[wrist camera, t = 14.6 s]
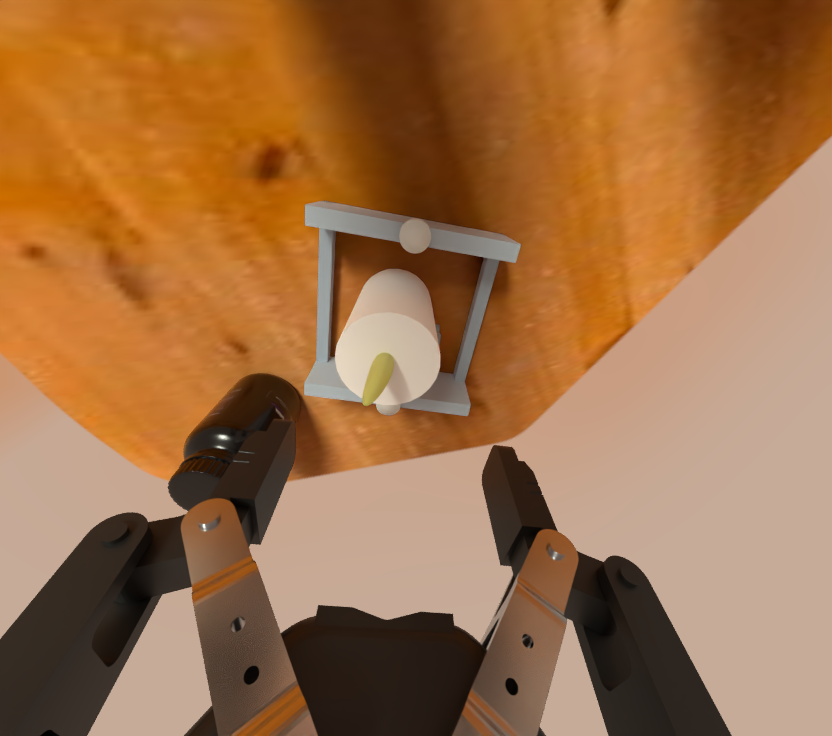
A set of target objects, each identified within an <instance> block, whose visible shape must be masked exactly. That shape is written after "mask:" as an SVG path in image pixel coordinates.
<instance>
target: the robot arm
mask: <svg viewBox="0 0 832 736" xmlns="http://www.w3.org/2000/svg"><path fill="white" fill-rule="evenodd" d="M295 454H296V433H295V422H294V421H290V420H282V419H273V421H272V422H271V424H270V426H269V428H268V429H267V431H256V432H255V433H253V434H252V435H251V436H249V437H248V438H247V439H245V441H244V443H243V444H242V446H241V447H240V449H239V452H238V453H237V454H236V455H235V457H234V459H233V462H231V464H230V465H229V467H228V468H227V470H226V472H225V473H224V475H223V476H222V478H221V480H220V481H219V483H218V484H217V486H216V488H215V489H214V491H213V492H212V494H211V496H210V497H209V498H208V500H206V501H203V502H201V503H199V504H197V505H196V506H194V507H193V508H192V509H191V510H190V511H188V513H187V514H185V515H182V516H179V517H175V518H169V519H163V520H158V521H153V522H148V521H147V519H146V518H145V517H144V516H143V515H141V514H139V513H133V512H132V513H122V514H118V515H116V516H113V517H110V518H108V519H106V520H104V521H102V522H101V523H99V524H98V525H96V526H95V527H94V528H93V529H92V530H90V532H89V533H88V534H87V535H86V536H85V537H84V538H83V540H82V541H81V542H80V543H79V545H78V546H77V547H76V548H75V549H74V551H73V552H72V553H71V554H70V555H69V557H68V558H67V559H66V560H65V561H64V563H63V564H62V565H61V566H60V567H59V569H58V570H57V571H56V572H55V573H54V575H53V576H52V577H51V579H50V580H49V581H48V582H47V583H46V584H45V586H44V587H43V588H42V589H41V591H40V592H39V593H38V594H37V595H36V597H35V598H34V599H33V600H32V601H31V603H30V604H29V605H28V606H27V607H26V609H25V610H24V611H23V612H22V613H21V615H20V616H19V617H18V618H17V620H16V621H15V622H14V623H13V624H12V626H11V627H10V628H9V629H8V630H7V632H6V633H5V634H4V635H3V636H2V638H1V639H0V736H87V735H88V733H89V731H90V729H91V727H92V725H93V724H94V722H95V720H96V718H97V716H98V714H99V712H100V710H101V709H102V706H103V705H104V703H105V701H106V699H107V697H108V695H109V693H110V692H111V690H112V688H113V686H114V684H115V682H116V680H117V678H118V677H119V675H120V673H121V671H122V669H123V667H124V665H125V663H126V662H127V660H128V658H129V656H130V654H131V652H132V650H133V648H134V646H135V645H136V643H137V641H138V639H139V637H140V635H141V633H142V631H143V629H144V627H145V626H146V624H147V622H148V620H149V618H150V616H151V615H152V612H153V611H154V609H155V607H156V605H157V603H158V601H159V599H160V598H161V596H162V594H165V593H169V592H173V591H177V590H181V589H184V588H189V587H192V591H193V592H192V599H193V606H194V611H195V616H196V621H197V626H198V632H199V637H200V642H201V648H202V653H203V658H204V664H205V669H206V674H207V679H208V685H209V690H210V695H211V701H212V706H211V707H210V708H209V709H208V711H206V713H205V714H204V715H203V716H202V717H201V718H200V719H199V720H198V721H197V722H196V723H195V724H194V725H193V726H192V728H191V729H190V730H189V731H188V732H187V733H186V734H185V735H184V736H546V735H545V734H544V732H543V731H542V729H541V728H540V727H539V726H540V722H541V718H542V715H543V711H544V707H545V704H546V700H547V696H548V693H549V689H550V685H551V681H552V677H553V674H554V670H555V666H556V662H557V659H558V655H559V651H560V647H561V644H562V640H563V636H564V633H565V629H566V624H567V619H570V620H572V621H573V624H574V627H575V630H576V633H577V636H578V639H579V643H580V646H581V649H582V652H583V655H584V659H585V662H586V665H587V668H588V672H589V675H590V678H591V681H592V684H593V687H594V690H595V694H596V697H597V700H598V703H599V707H600V710H601V713H602V716H603V719H604V722H605V726H606V729H607V732H608V735H609V736H731V734H730V732H729V730H728V728H727V727H726V724H725V722H724V721H723V719H722V717H721V716H720V713H719V711H718V709H717V708H716V706H715V704H714V702H713V700H712V698H711V696H710V695H709V693H708V691H707V689H706V687H705V685H704V683H703V681H702V680H701V678H700V676H699V674H698V672H697V670H696V668H695V666H694V664H693V663H692V661H691V659H690V657H689V655H688V654H687V652H686V650H685V648H684V646H683V644H682V642H681V640H680V638H679V636H678V635H677V633H676V631H675V629H674V627H673V625H672V623H671V621H670V620H669V618H668V616H667V614H666V612H665V610H664V609H663V607H662V605H661V603H660V601H659V599H658V597H657V595H656V593H655V592H654V590H653V588H652V586H651V584H650V582H649V580H648V579H647V577H646V576H645V574H644V573H643V572H642V571H641V570H640V569H639V568H638V567H637V566H636V565H635V564H634V563H632V562H631V561H629V560H627V559H625V558H623V557H620V556H610V557H608V558H607V559H606V560H605V561H604V562H602V561H599V560H597V559H594V558H592V557H589V556H587V555H584V554H582V553H580V552H578V551H576V549H575V547H574V545H573V544H572V543H571V541H570V540H569V539H568V538H567V537H565V536H564V535H563V534H561V533H559V532H558V531H557V529H556V526H555V524H554V521H553V519H552V516H551V514H550V512H549V509H548V507H547V504H546V502H545V499H544V497H543V495H542V492H541V490H540V487H539V486H538V482H537V480H536V478H535V475H534V473H533V471H532V470H531V469H530V468H529V467H528V465H527V464H526V463H525V462H524V461H518V458H517V456H516V453H515V450H514V449H513V448H512V447H506V446H497V445H494V446H493V447H492V449H491V452H490V454H489V457H488V460H487V462H486V465H485V467H484V470H483V474H482V486H483V490H484V495H485V499H486V503H487V508H488V512H489V516H490V521H491V525H492V529H493V534H494V538H495V543H496V547H497V551H498V556H499V560H500V565H504V566H511V567H512V571H513V576H512V577H511V579H510V581H509V584H508V586H507V588H506V590H505V592H504V594H503V597H502V599H501V601H500V603H499V605H498V608H497V610H496V612H495V614H494V616H493V618H492V620H491V622H490V625H489V626H488V628H487V630H486V632H485V634H484V636H483V638H482V640H481V642H480V643H479V642H478V641H477V640H476V639H475V638H474V637H473V636H472V635H470V634H469V633H468V632H466V631H465V630H463V629H461V628H459V627H457V626H454V621H453V614H445V613H430V612H418V613H414V614H411V615H406V616H403V617H399V618H394V619H390V620H384V619H381V618H379V617H376V616H373V615H371V614H368V613H365V612H363V611H360V610H358V609H355V608H352V607H338V606H323V605H318V610H317V614H316V616H314V617H310V618H307V619H304V620H302V621H300V622H298V623H296V624H294V625H292V626H291V627H289V628H288V629H286V630H285V631H283V632H282V633H280V630H279V627H278V625H277V622H276V619H275V616H274V613H273V610H272V607H271V604H270V601H269V599H268V596H267V593H266V590H265V587H264V584H263V581H262V578H261V576H260V573H259V570H258V567H257V564H256V562H255V561H253V559H252V556H251V553H250V550H249V546H250V544H259V545H260V544H261V542H262V540H263V537H264V535H265V532H266V530H267V527H268V525H269V522H270V520H271V517H272V515H273V512H274V510H275V508H276V505H277V503H278V500H279V498H280V495H281V493H282V490H283V488H284V485H285V483H286V481H287V478H288V476H289V473H290V471H291V468H292V466H293V463H294V459H295Z"/></svg>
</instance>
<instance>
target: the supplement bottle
mask: <svg viewBox="0 0 832 736" xmlns="http://www.w3.org/2000/svg"><path fill="white" fill-rule="evenodd" d="M300 410H301V403H300V399H299V396H298V394H297V392H296V391H295V389H294V388H293V387H292V386H291V385H290V384H289V383H287V382H286V381H285V380H283V379H281V378H279V377H277V376H274V375H270V374H264V373H258V374H251V375H248V376H246V377H244V378H242V379H241V380H239V381H238V382H237V383H236V384H235V385H234V386H233V387H232V388H231V389H230V390H229V392H228V393H227V394H226V395H225V396H224V397H223V398H222V399H221V400H220V401H219V402H218V404H217V405H216V406H215V407H214V408H213V409H212V410H211V411H210V412H209V413H208V414H207V416H206V417H205V418H204V419H203V420H202V421H201V422H200V423H199V424H198V425H197V426H196V428H195V429H194V430H193V431H192V432H191V433H190V435H189V436H188V438H187V439H186V442H185V445H184V451H183V453H184V461H183V462H182V464H181V465H180V467H179V469H178V470H177V471H176V472H175V474H174V475H173V476H172V477H171V479H170V481H169V483H168V484H169V486H168V489H169V493H170V496H171V497H172V498H173V500H174V501H175V502H176V503H177V504H178V505H179V506H181V507H182V508H183V509H185V510H187V511H190V510H191V509H192V508H193V507H194V506H196V505H197V504H199V503H201V502H203V501H206V500H208V498H209V497H210V496H211V494H212V492H213V491H214V489H215V488H216V486H217V484H218V483H219V481H220V480H221V478H222V476H223V475H224V473H225V472H226V470H227V468H228V467H229V465H230V464H231V462H233V459H234V457H235V455H236V454H237V453H238V452H239V449H240V447H241V446H242V444H243V443H244V441H245V439H247V438H248V437H249V436H251V435H252V434H253V433H255V432H256V431H267V429H268V428H269V426H270V424H271V422H272V421H273V419H282V420H290V421H294V422H295V423H296V421H297V419H298V416H299V414H300Z"/></svg>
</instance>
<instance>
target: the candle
mask: <svg viewBox="0 0 832 736" xmlns="http://www.w3.org/2000/svg"><path fill="white" fill-rule="evenodd" d="M439 332H440V326H439V324H435V320H434V314H433V309H432V303H431V298H430V294H429V291H428V289H427V287H426V286H425V284H424V282H423V281H422V280H421V279H420V278H418V277H417V276H416V275H414V274H413V273H411V272H409V271H406V270H402V269H386V270H383V271H380V272H378V273H376V274H375V275H373V276H372V277H370V279H369V280H368V281H367V282H366V283H365V284H364V287H363V289H362V291H361V293H360V295H359V297H358V299H357V302H356V304H355V306H354V308H353V310H352V313H351V315H350V317H349V319H348V321H347V323H346V326H345V328H344V330H343V332H342V334H341V337H340V339H339V341H338V343H337V345H336V352H335V362H336V368H337V371H338V373H339V375H340V378H341V380H342V381H343V382H344V384H345V385H346V386H347V387H348V388H349V389H350V391H352V392H353V393H355V394H356V395H357V396H359V397H360V398H362V402H363V405H364V406H368V405H370V404H372V403H377V404H382V405H398V404H402V403H406V402H410V401H412V400H414V399H416V398H418V397H420V396H421V395H423V394H424V393H425V392H426V391H427V390H428V389H430V387H431V386H432V384H433V383H434V381H435V380H436V378H437V375H438V372H439V369H440V350H439V345H440V340H441V333H439Z"/></svg>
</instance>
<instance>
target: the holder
mask: <svg viewBox="0 0 832 736" xmlns="http://www.w3.org/2000/svg"><path fill="white" fill-rule="evenodd" d="M305 225H306V226H311V227H317V228H319V267H318V309H317V352H316V362H315V364H314V366H313V368H312V370H311V372H310V374H309V375H308V377H307V379H306V381H305V383H304V395H309V396H316V397H324V398H332V399H339V400H347V401H354V402H362V398H360V397H359V396H357V395H356V394H355V393H353V392H352V391H350V389H349V388H348V387H347V386H346V385H345V384H344V382H343V381H342V380H341V378H340V375H339V373H338V371H337V368H336V362H335V357H332V356H330V349H331V328H332V306H333V285H334V264H335V242H336V231H339V232H345V233H351V234H356V235H362V236H367V237H373V238H379V239H384V240H390V241H395V242H400V243H401V245H402V247H403V248H404V249H405V250H406V251H408V252H410V253H414V254H416V253H421V252H423V251H424V250H425V249H426V248H427V247H429V248H434V249H440V250H446V251H451V252H457V253H462V254H468V255H474V256H479V257H484V259H483V262H482V266H481V270H480V274H479V278H478V281H477V285H476V289H475V293H474V297H473V300H472V304H471V308H470V312H469V315H468V319H467V323H466V327H465V331H464V334H463V338H462V342H461V346H460V350H459V353H458V357H457V361H456V365H455V368H454V372H453V374H451V373H444V372H438V375H437V378H436V380H435V381H434V383H433V384H432V386H431V387H430V389H428V390H427V391H426V392H425V393H424V394H423V395H421V396H420V397H418V398H416V399H414V400H412V401H410V402H406V403H402V404H398V405H382V404H377V403H372V404H376V408H377V410H378V411H379V412H380V413H381V414H383V415H394V414H396V413H397V412H398V411H399V410H400V408H408V409H416V410H423V411H431V412H439V413H446V414H454V415H462V416H468V413H469V410H470V407H471V403H470V400H469V396H468V392H467V388H466V385H465V379H466V375H467V372H468V368H469V365H470V361H471V358H472V355H473V351H474V348H475V344H476V341H477V337H478V334H479V330H480V327H481V323H482V320H483V316H484V313H485V309H486V306H487V303H488V299H489V296H490V292H491V289H492V285H493V282H494V278H495V275H496V271H497V268H498V264H499V261H500V260H501V261H507V262H513V263H516V260H517V257H518V253H519V250H520V247H521V244H519V243H518V242H516V241H514V240H512V239H511V238H509V237H507V236H505V235H503V234H499V233H494V232H489V231H483V230H478V229H473V228H467V227H462V226H457V225H451V224H446V223H441V222H435V221H430V220H424V219H419V218H414V217H408V216H403V215H398V214H392V213H387V212H382V211H376V210H371V209H366V208H360V207H355V206H350V205H344V204H339V203H334V202H328V201H320V202H315V203H310V204H305ZM362 403H363V402H362Z"/></svg>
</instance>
